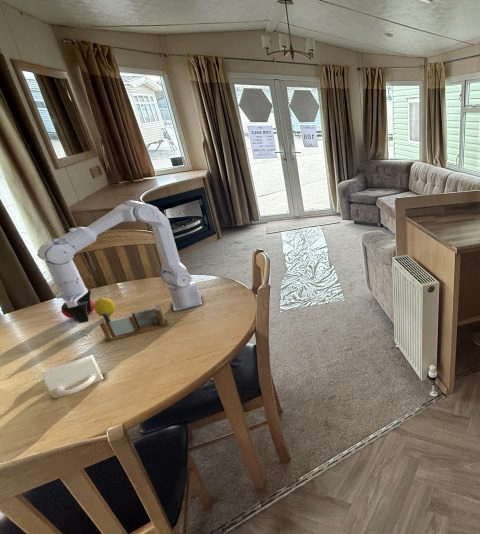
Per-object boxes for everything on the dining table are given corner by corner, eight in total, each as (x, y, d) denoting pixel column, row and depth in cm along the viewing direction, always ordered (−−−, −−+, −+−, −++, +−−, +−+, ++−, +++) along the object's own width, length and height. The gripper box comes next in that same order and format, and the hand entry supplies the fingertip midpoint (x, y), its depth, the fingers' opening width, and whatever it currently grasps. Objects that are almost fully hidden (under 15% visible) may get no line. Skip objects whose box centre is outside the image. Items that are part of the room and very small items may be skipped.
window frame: (165, 320, 128) (159, 305, 125) (165, 326, 125) (159, 310, 122) (108, 335, 119) (101, 318, 116) (107, 341, 116) (99, 324, 113)
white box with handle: (53, 388, 96) (41, 366, 93) (101, 371, 103) (90, 350, 100) (57, 411, 89) (43, 389, 86) (107, 391, 96) (96, 369, 93)
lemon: (122, 313, 132) (114, 295, 129) (108, 320, 127) (100, 302, 124) (109, 312, 133) (101, 294, 129) (95, 319, 128) (86, 301, 124)
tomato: (97, 307, 135) (89, 289, 132) (98, 316, 130) (90, 298, 126) (66, 315, 130) (57, 297, 126) (65, 325, 124) (56, 306, 121)
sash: (138, 329, 122) (129, 307, 118) (137, 330, 121) (128, 308, 117) (112, 335, 118) (102, 313, 114) (112, 337, 117) (102, 314, 113)
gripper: (54, 274, 108) (72, 310, 114) (44, 292, 98) (64, 331, 104) (84, 269, 112) (100, 304, 118) (78, 286, 102) (95, 323, 108)
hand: (85, 316), depth 111 cm, fingers open, 7 cm apart
